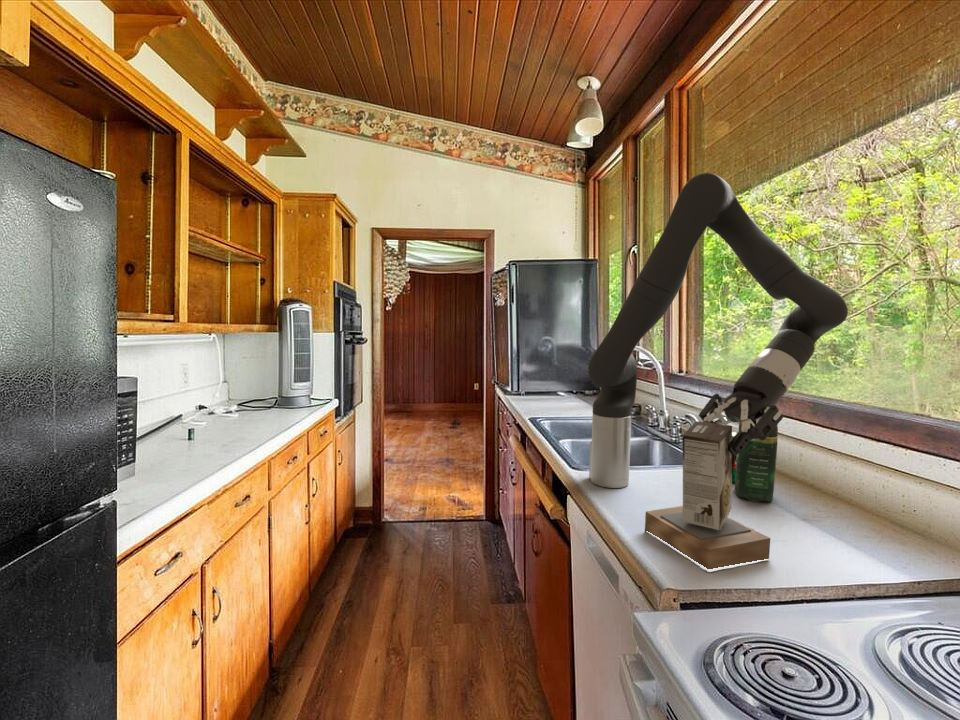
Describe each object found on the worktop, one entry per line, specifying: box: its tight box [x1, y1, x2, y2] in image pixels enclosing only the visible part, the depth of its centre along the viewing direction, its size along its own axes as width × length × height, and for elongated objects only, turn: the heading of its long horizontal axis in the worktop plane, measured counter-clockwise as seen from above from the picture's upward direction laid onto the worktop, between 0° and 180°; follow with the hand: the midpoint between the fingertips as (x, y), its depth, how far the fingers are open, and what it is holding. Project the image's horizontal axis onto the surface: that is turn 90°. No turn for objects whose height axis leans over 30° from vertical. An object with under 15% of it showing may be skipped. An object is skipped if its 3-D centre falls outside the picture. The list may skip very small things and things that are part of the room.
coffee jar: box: [734, 418, 779, 503], centre depth 113 cm, size 10×8×19 cm
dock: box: [644, 505, 771, 569], centre depth 88 cm, size 16×13×4 cm
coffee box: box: [682, 420, 733, 530], centre depth 86 cm, size 9×6×16 cm
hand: (714, 446), depth 87 cm, fingers closed on coffee box, 7 cm apart
